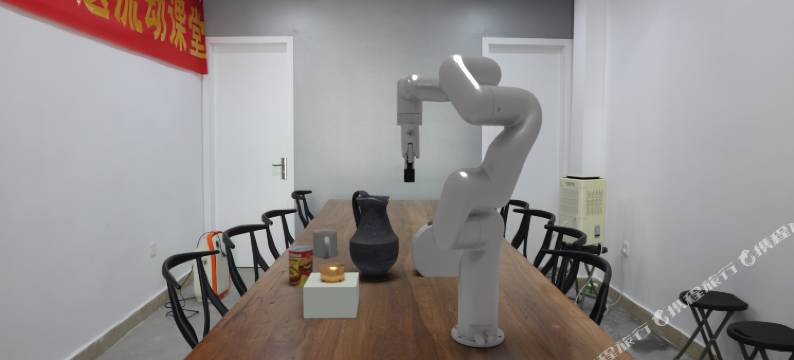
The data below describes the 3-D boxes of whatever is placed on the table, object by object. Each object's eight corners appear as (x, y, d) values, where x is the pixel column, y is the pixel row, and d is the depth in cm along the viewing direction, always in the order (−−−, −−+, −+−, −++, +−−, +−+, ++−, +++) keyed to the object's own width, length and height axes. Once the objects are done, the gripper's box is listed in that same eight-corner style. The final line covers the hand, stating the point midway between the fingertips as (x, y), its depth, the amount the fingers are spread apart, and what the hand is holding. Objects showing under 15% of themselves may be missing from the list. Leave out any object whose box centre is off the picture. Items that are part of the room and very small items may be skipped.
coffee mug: (315, 252, 201) (314, 229, 200) (338, 251, 201) (338, 229, 200) (310, 259, 187) (310, 235, 187) (335, 259, 188) (335, 235, 187)
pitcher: (368, 288, 150) (368, 195, 148) (334, 274, 166) (333, 190, 164) (409, 278, 161) (409, 192, 159) (373, 266, 177) (373, 187, 175)
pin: (344, 311, 128) (343, 268, 127) (319, 311, 128) (318, 268, 127) (345, 303, 135) (345, 262, 134) (322, 303, 135) (321, 262, 134)
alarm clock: (468, 270, 172) (469, 217, 170) (472, 276, 164) (473, 220, 163) (410, 271, 171) (411, 217, 169) (412, 277, 164) (412, 221, 162)
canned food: (285, 283, 156) (284, 247, 155) (306, 279, 161) (305, 244, 160) (296, 289, 150) (295, 252, 149) (317, 284, 155) (317, 248, 154)
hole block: (356, 317, 125) (356, 286, 124) (303, 318, 125) (303, 287, 124) (358, 300, 139) (358, 272, 138) (311, 300, 138) (311, 272, 138)
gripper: (424, 119, 131) (424, 184, 132) (420, 121, 146) (419, 180, 147) (397, 119, 131) (397, 184, 132) (396, 121, 146) (396, 180, 147)
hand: (409, 182), depth 140 cm, fingers closed
